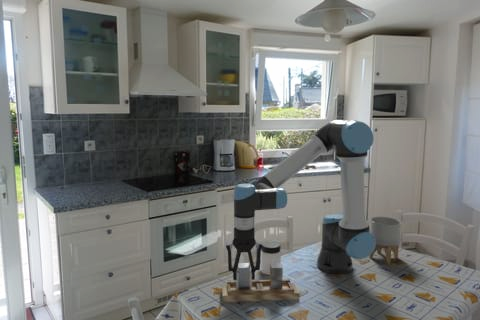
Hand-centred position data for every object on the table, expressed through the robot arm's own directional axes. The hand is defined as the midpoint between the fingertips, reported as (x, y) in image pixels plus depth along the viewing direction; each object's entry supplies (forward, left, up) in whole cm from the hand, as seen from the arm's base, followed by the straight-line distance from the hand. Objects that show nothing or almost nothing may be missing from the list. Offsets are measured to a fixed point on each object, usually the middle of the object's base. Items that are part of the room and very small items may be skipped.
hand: (243, 287), depth 136 cm
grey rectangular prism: (0, 0, 0) cm, 0 cm away
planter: (-68, -31, -3) cm, 75 cm away
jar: (-13, -20, -3) cm, 24 cm away
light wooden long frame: (-6, 0, -3) cm, 7 cm away
